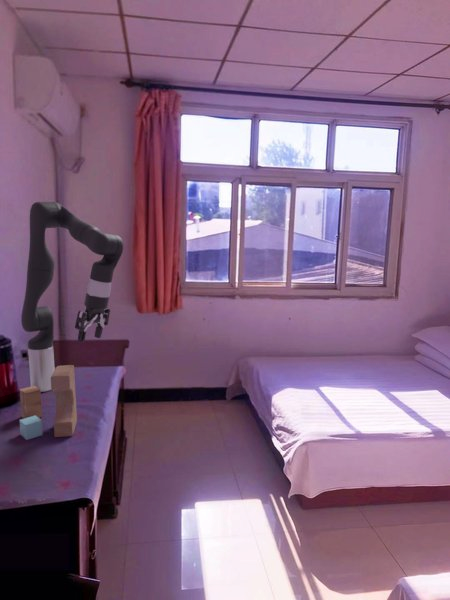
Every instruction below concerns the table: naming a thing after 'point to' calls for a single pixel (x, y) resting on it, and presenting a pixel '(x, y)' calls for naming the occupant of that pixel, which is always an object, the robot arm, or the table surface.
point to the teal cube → (31, 427)
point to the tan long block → (31, 402)
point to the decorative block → (64, 400)
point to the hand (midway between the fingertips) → (89, 339)
